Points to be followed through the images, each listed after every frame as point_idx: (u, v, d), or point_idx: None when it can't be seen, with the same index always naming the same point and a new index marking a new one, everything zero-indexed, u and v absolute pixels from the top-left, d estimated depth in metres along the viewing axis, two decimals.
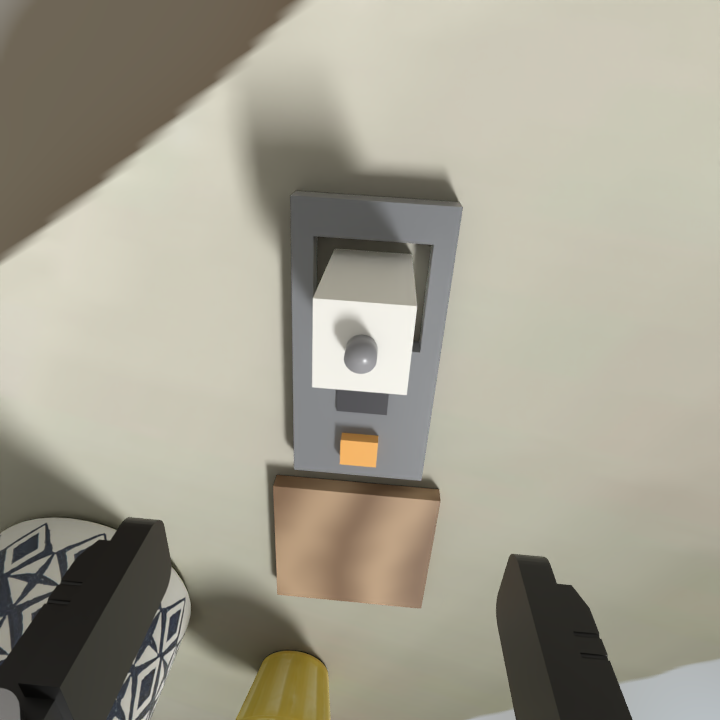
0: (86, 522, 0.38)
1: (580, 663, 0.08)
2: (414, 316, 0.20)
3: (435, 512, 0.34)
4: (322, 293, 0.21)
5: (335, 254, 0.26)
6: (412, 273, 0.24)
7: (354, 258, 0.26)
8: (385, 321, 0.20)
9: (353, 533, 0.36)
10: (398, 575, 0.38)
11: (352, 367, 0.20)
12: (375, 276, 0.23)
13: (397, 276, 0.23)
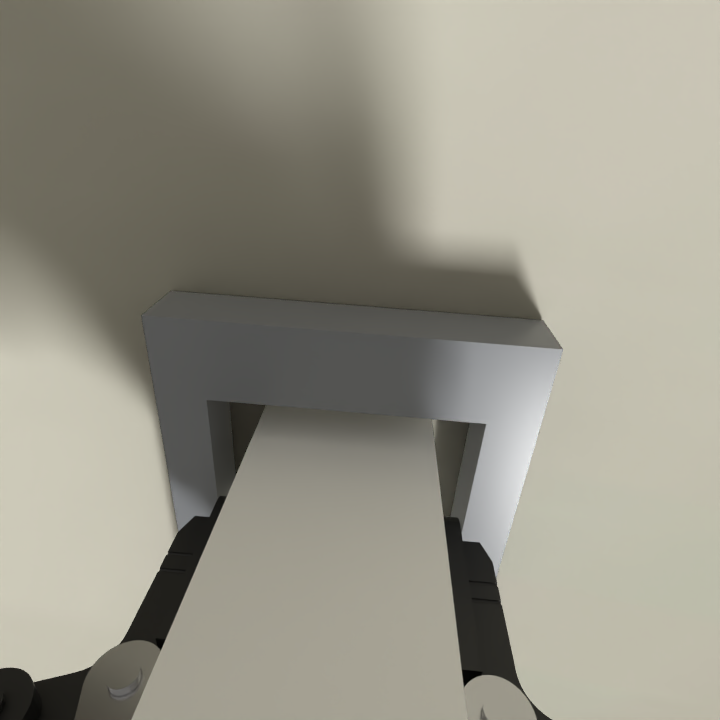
0: None
1: (469, 604, 0.09)
2: None
3: None
4: (159, 717, 0.06)
5: (262, 434, 0.12)
6: (440, 520, 0.10)
7: (302, 448, 0.11)
8: None
9: None
10: None
11: None
12: (345, 553, 0.09)
13: (402, 547, 0.09)
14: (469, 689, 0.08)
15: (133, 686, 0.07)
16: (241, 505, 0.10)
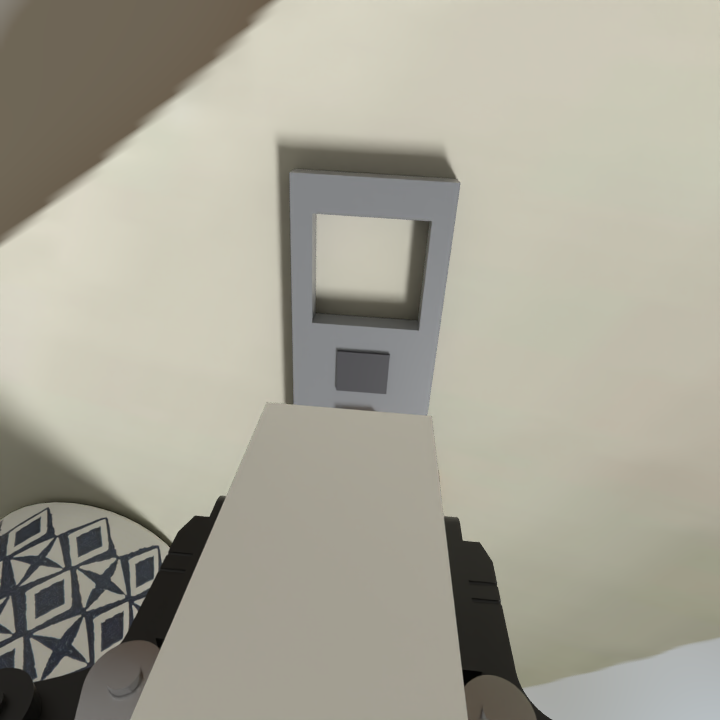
0: (88, 506, 0.38)
1: (469, 604, 0.09)
2: None
3: None
4: (159, 714, 0.06)
5: (262, 433, 0.12)
6: (440, 519, 0.09)
7: (302, 447, 0.11)
8: None
9: None
10: None
11: None
12: (345, 551, 0.09)
13: (402, 545, 0.09)
14: (469, 689, 0.08)
15: (133, 686, 0.07)
16: (241, 504, 0.10)
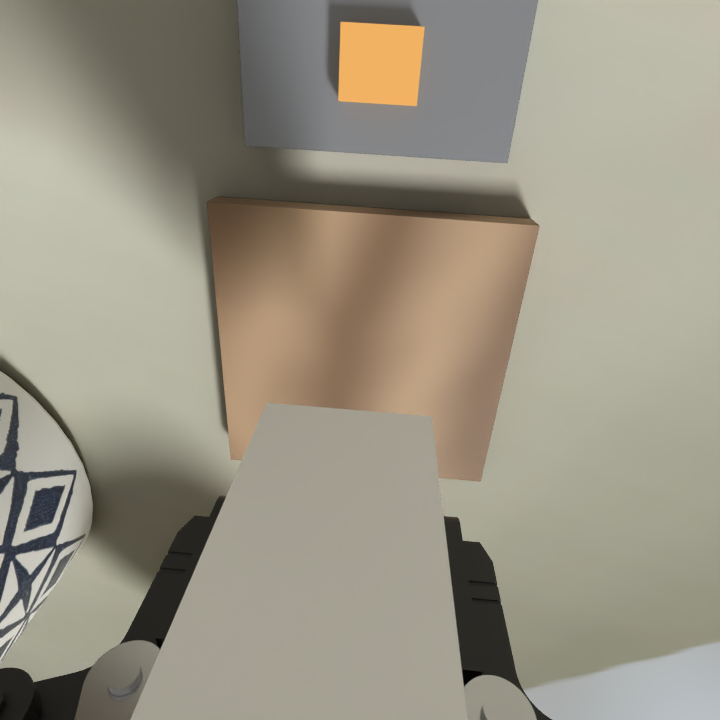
0: None
1: (469, 604, 0.09)
2: None
3: (526, 255, 0.18)
4: (158, 715, 0.06)
5: (262, 433, 0.12)
6: (440, 519, 0.09)
7: (301, 447, 0.11)
8: None
9: (365, 315, 0.19)
10: (444, 411, 0.21)
11: None
12: (345, 552, 0.09)
13: (402, 545, 0.09)
14: (469, 689, 0.08)
15: (133, 686, 0.07)
16: (241, 504, 0.10)
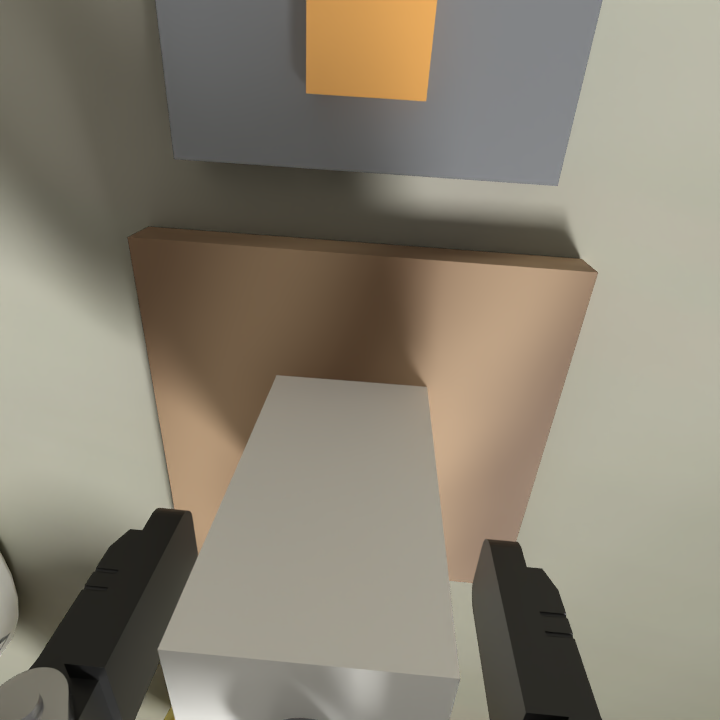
0: None
1: (544, 640, 0.09)
2: (450, 696, 0.07)
3: (577, 312, 0.12)
4: (195, 612, 0.07)
5: (274, 400, 0.13)
6: (433, 469, 0.11)
7: (309, 412, 0.12)
8: (366, 700, 0.07)
9: None
10: (458, 505, 0.16)
11: None
12: (349, 494, 0.10)
13: (399, 490, 0.10)
14: None
15: (34, 714, 0.07)
16: (257, 457, 0.11)
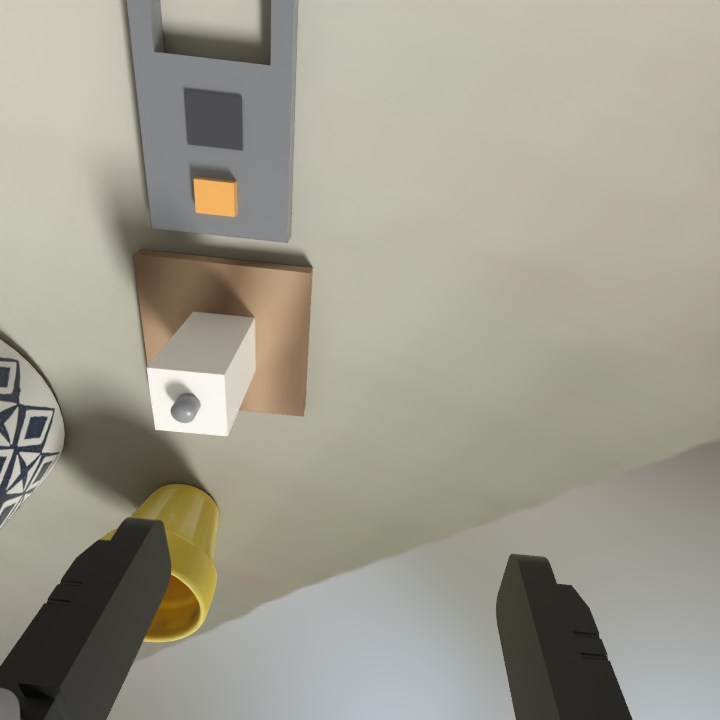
0: None
1: (580, 663, 0.08)
2: (223, 381, 0.27)
3: (307, 288, 0.33)
4: (156, 362, 0.28)
5: (190, 319, 0.33)
6: (241, 339, 0.31)
7: (203, 323, 0.33)
8: (202, 384, 0.28)
9: None
10: (276, 373, 0.36)
11: (177, 418, 0.28)
12: (209, 344, 0.30)
13: (226, 343, 0.30)
14: None
15: None
16: (180, 334, 0.31)
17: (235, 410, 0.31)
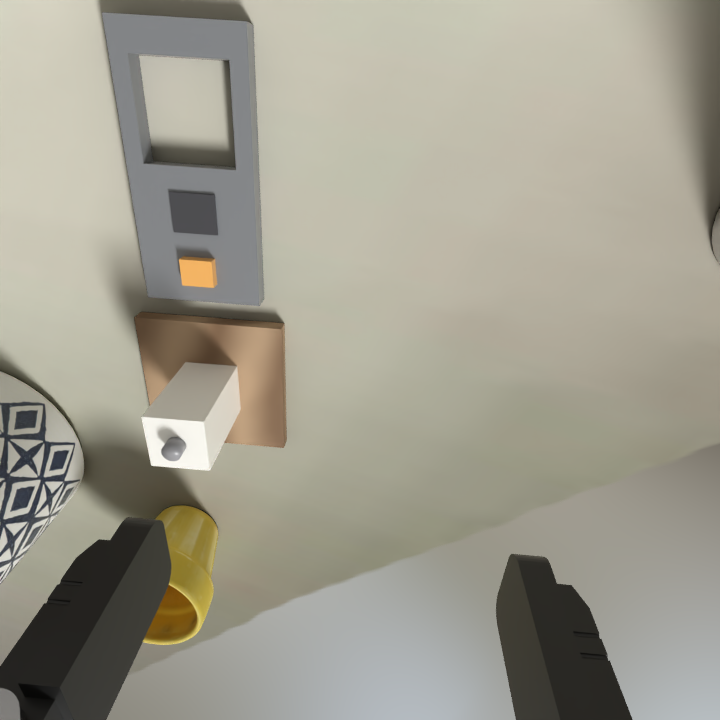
0: None
1: (580, 663, 0.08)
2: (203, 427, 0.33)
3: (279, 341, 0.39)
4: (150, 412, 0.34)
5: (182, 370, 0.39)
6: (222, 388, 0.37)
7: (192, 373, 0.39)
8: (186, 429, 0.34)
9: None
10: (258, 411, 0.42)
11: (167, 457, 0.34)
12: (195, 393, 0.36)
13: (209, 392, 0.36)
14: None
15: None
16: (172, 384, 0.37)
17: (218, 447, 0.37)
